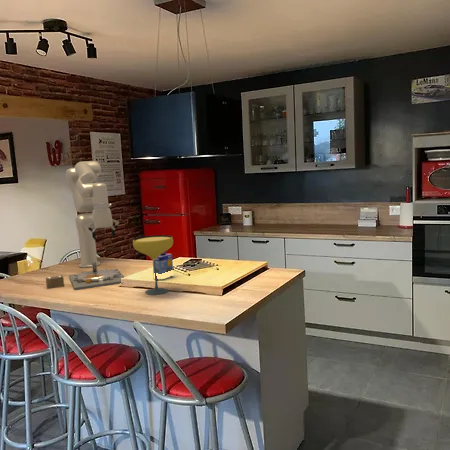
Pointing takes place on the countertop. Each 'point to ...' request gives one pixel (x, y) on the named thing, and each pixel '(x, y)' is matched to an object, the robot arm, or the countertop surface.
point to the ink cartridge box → (163, 263)
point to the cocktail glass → (153, 253)
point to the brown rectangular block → (55, 282)
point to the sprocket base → (95, 282)
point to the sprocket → (96, 275)
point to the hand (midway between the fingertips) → (104, 238)
